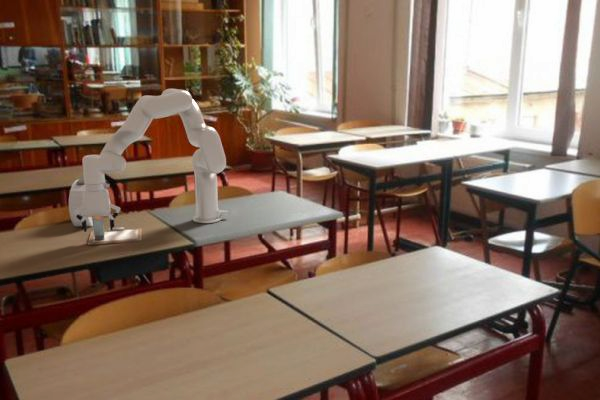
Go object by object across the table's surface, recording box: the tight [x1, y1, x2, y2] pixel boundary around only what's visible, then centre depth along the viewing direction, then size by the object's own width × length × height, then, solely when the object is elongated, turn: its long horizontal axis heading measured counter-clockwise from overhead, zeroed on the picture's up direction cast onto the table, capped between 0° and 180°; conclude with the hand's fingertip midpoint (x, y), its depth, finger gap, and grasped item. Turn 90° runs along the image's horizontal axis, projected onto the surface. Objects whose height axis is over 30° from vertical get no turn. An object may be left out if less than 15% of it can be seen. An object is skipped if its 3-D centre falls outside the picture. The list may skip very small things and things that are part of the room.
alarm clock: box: [68, 176, 93, 228], centre depth 247 cm, size 21×8×20 cm, turn 179°
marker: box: [92, 216, 105, 241], centre depth 222 cm, size 4×4×10 cm
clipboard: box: [87, 226, 143, 246], centre depth 229 cm, size 20×16×2 cm
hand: (98, 229), depth 223 cm, fingers open, 9 cm apart
